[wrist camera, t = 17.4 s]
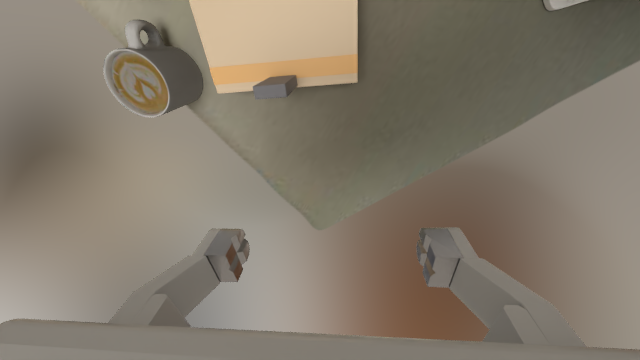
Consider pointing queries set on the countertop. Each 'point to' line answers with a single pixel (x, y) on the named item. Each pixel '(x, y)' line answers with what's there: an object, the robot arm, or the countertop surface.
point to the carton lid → (278, 43)
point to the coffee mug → (151, 73)
